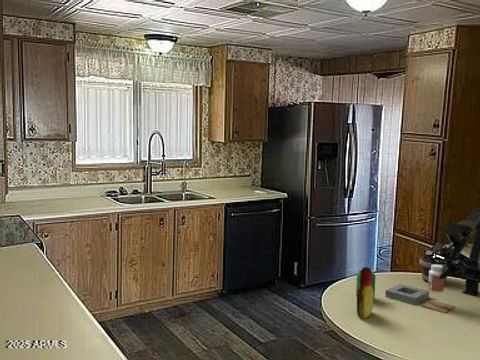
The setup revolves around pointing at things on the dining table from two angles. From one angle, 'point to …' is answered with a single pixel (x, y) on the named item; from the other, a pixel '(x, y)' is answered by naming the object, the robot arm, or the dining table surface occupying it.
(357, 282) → the beverage can
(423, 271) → the flowerpot
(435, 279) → the pill bottle
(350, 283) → the dining table surface
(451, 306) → the pad
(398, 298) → the holder
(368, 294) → the bottle
